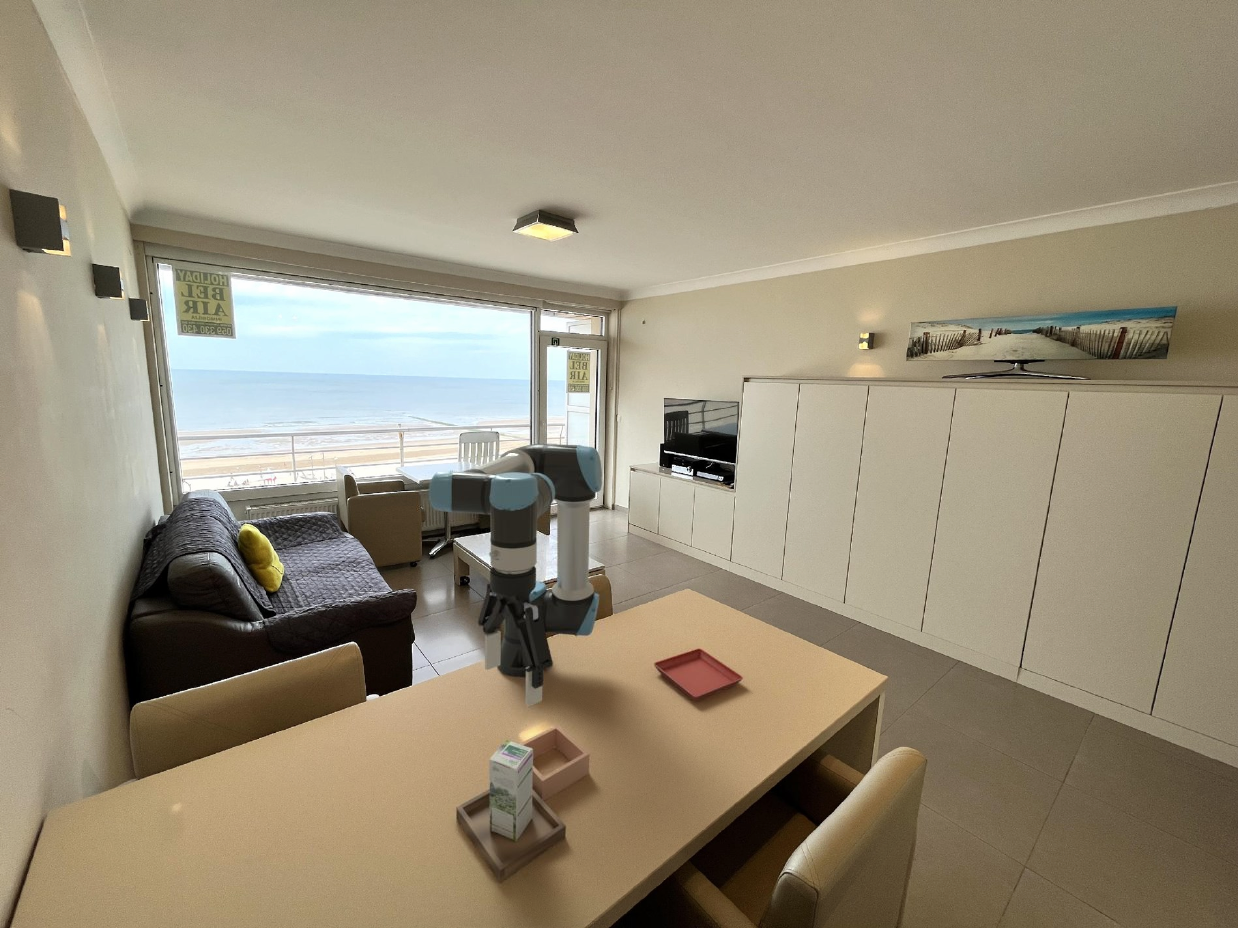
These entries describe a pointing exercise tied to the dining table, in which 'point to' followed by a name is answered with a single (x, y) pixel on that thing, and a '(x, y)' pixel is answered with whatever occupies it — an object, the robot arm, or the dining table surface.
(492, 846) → the tray
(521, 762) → the syrup box
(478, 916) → the dining table surface
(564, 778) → the holder
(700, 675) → the plant saucer
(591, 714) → the dining table surface
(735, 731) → the dining table surface
